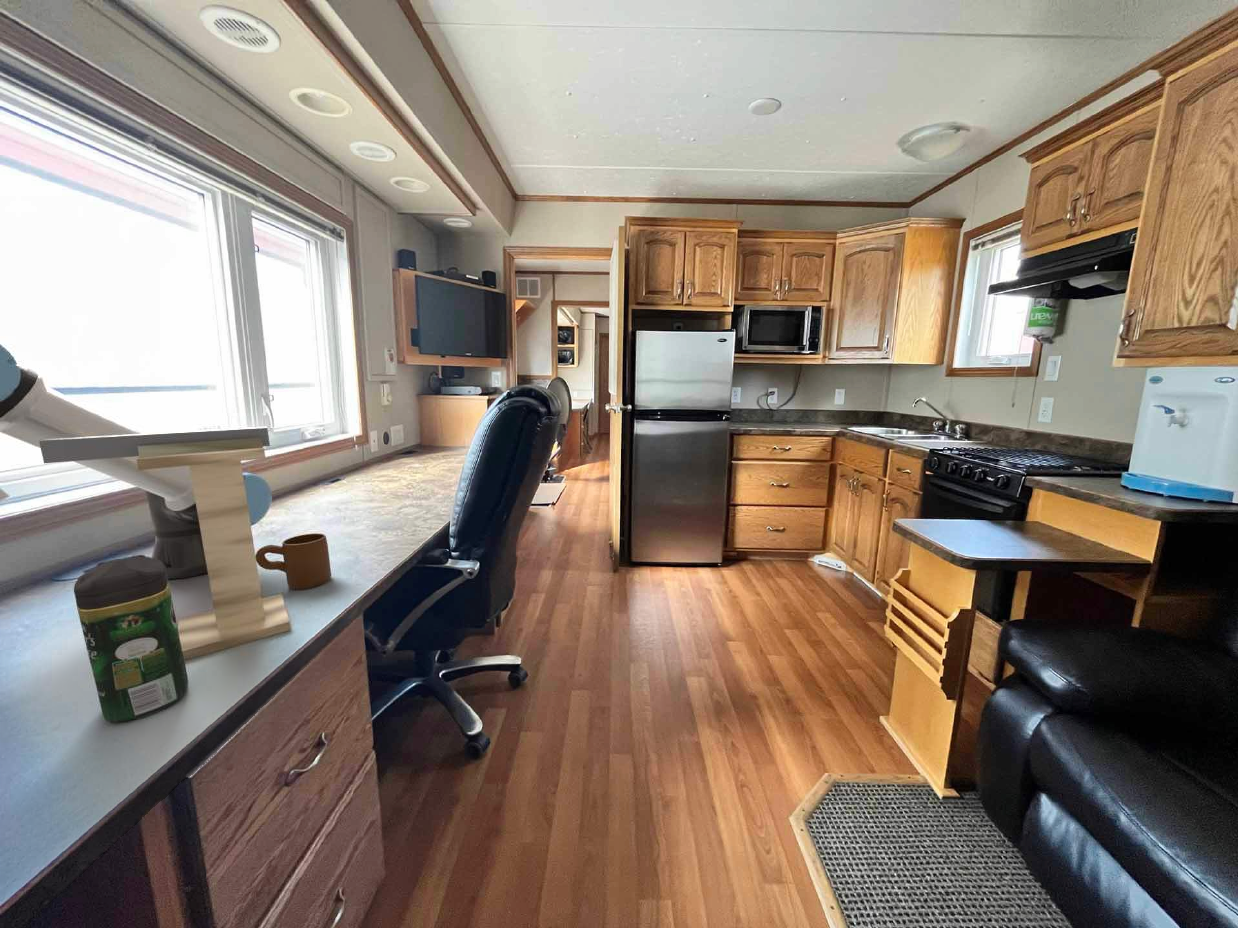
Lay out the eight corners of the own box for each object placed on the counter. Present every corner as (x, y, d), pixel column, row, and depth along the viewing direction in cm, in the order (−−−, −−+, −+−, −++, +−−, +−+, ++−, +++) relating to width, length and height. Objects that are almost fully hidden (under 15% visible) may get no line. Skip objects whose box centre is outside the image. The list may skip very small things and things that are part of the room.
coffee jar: (104, 697, 60) (74, 561, 57) (187, 671, 66) (163, 545, 63) (98, 736, 54) (63, 584, 50) (191, 702, 59) (165, 564, 56)
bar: (50, 460, 64) (45, 439, 63) (268, 444, 79) (266, 426, 78) (44, 463, 61) (38, 440, 61) (269, 446, 76) (267, 427, 76)
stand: (181, 626, 78) (146, 441, 73) (282, 601, 87) (258, 433, 82) (174, 663, 68) (133, 449, 63) (290, 629, 77) (263, 440, 71)
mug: (257, 599, 88) (250, 552, 87) (263, 585, 95) (256, 540, 93) (331, 585, 94) (325, 540, 93) (332, 572, 101) (327, 530, 99)
